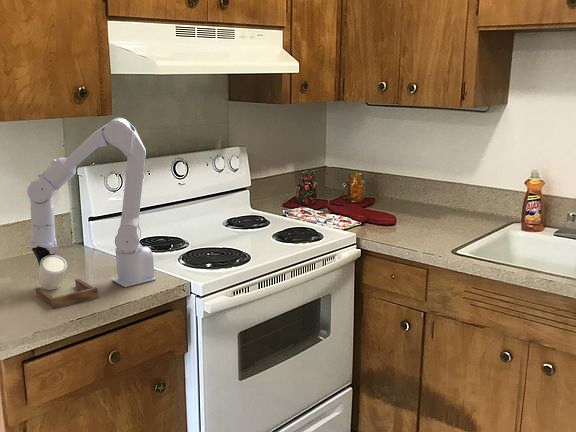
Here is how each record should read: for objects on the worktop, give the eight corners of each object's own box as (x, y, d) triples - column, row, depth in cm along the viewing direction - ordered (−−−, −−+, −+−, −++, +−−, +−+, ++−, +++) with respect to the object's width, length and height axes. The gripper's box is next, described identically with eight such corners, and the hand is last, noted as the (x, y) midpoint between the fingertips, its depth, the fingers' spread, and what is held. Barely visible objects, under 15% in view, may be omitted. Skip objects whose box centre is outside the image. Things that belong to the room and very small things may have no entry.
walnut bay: (79, 285, 169) (78, 276, 168) (98, 297, 160) (97, 288, 159) (36, 296, 161) (35, 286, 161) (53, 308, 153) (52, 299, 152)
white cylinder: (43, 294, 164) (46, 276, 160) (31, 276, 167) (35, 258, 163) (68, 287, 168) (72, 269, 164) (56, 270, 171) (60, 252, 167)
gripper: (18, 220, 167) (21, 268, 171) (37, 232, 157) (40, 283, 160) (44, 216, 172) (47, 264, 175) (65, 228, 161) (67, 278, 164)
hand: (46, 273), depth 168 cm, fingers closed, pressing on white cylinder
